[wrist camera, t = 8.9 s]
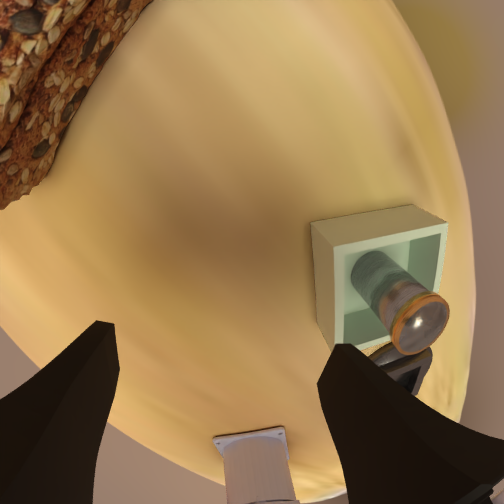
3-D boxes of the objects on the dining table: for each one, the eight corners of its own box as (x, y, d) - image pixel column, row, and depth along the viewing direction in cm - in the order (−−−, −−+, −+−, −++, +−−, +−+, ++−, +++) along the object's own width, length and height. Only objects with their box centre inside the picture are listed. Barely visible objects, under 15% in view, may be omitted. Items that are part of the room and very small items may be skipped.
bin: (405, 297, 22) (431, 325, 18) (316, 322, 22) (334, 358, 18) (412, 204, 19) (448, 222, 15) (310, 222, 18) (333, 246, 15)
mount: (417, 385, 28) (425, 397, 26) (343, 412, 28) (349, 427, 26) (436, 324, 24) (448, 337, 22) (350, 355, 24) (359, 371, 22)
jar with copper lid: (398, 248, 19) (458, 295, 13) (385, 294, 21) (434, 349, 14) (353, 247, 19) (409, 300, 12) (343, 296, 20) (386, 359, 14)
